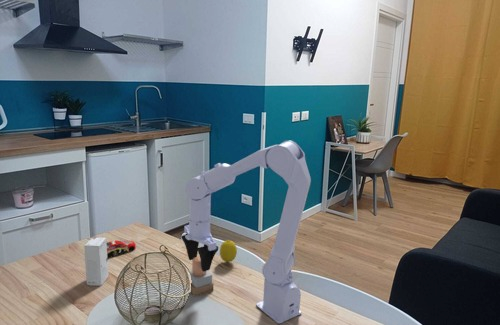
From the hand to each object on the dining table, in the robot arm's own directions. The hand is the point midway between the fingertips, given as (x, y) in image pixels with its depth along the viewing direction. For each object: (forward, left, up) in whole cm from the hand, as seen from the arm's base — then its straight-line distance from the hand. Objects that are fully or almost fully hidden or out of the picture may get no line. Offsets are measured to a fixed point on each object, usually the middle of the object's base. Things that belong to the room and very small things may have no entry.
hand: (199, 264), depth 103 cm
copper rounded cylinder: (0, 0, -3) cm, 3 cm away
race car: (+35, +12, -8) cm, 38 cm away
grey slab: (0, 0, -5) cm, 5 cm away
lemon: (+8, -16, -8) cm, 19 cm away
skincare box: (+20, +22, -8) cm, 31 cm away
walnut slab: (0, 0, -8) cm, 8 cm away
